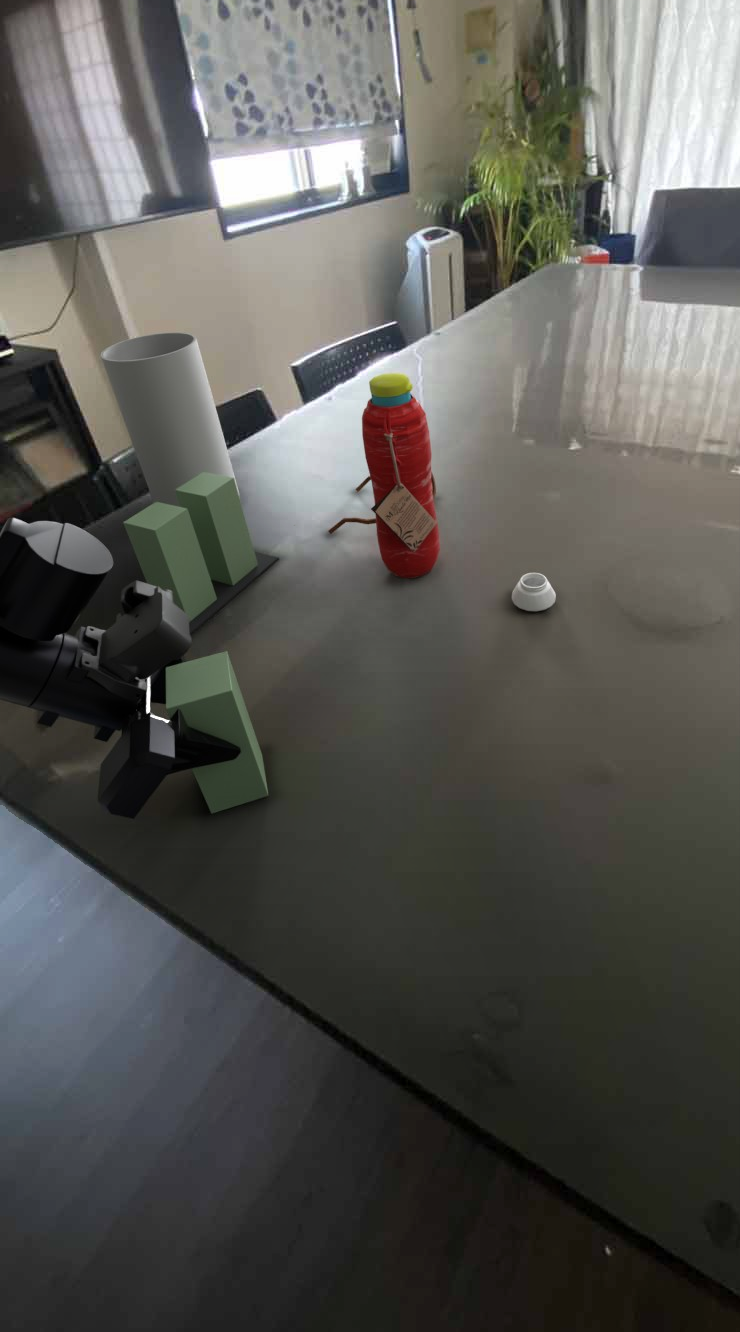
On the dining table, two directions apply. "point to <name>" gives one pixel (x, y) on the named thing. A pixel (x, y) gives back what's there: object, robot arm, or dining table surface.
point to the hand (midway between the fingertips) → (235, 728)
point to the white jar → (533, 593)
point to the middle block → (171, 555)
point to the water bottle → (400, 476)
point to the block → (218, 728)
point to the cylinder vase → (167, 410)
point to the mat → (231, 590)
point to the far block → (219, 526)
